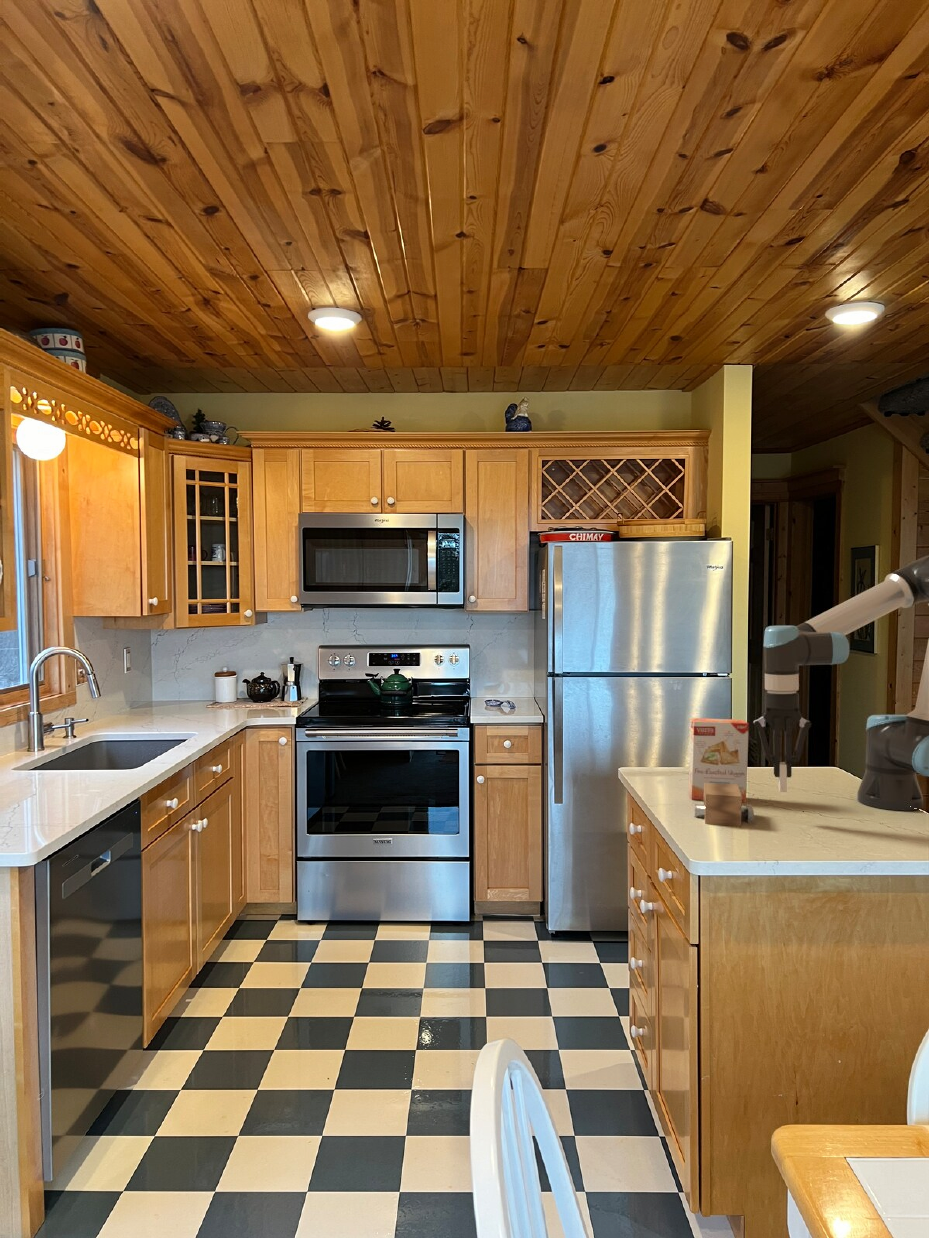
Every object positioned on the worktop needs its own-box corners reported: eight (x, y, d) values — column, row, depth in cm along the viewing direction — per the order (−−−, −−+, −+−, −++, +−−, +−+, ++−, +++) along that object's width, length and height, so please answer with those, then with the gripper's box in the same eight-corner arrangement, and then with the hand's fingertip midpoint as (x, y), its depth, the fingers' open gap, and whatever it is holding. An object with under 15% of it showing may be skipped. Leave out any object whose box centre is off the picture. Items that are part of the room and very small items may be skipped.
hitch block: (737, 812, 206) (737, 784, 206) (741, 826, 195) (741, 796, 194) (703, 810, 208) (703, 782, 208) (705, 823, 196) (705, 794, 196)
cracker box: (691, 800, 218) (693, 720, 217) (688, 795, 224) (689, 717, 223) (747, 802, 216) (749, 722, 215) (742, 797, 222) (744, 718, 221)
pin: (750, 817, 203) (751, 804, 203) (753, 823, 197) (753, 811, 197) (694, 813, 206) (694, 801, 206) (695, 819, 200) (695, 807, 200)
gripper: (808, 689, 199) (809, 787, 200) (751, 689, 202) (752, 785, 203) (813, 693, 192) (814, 795, 193) (753, 693, 195) (755, 793, 196)
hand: (782, 790), depth 198 cm, fingers closed
